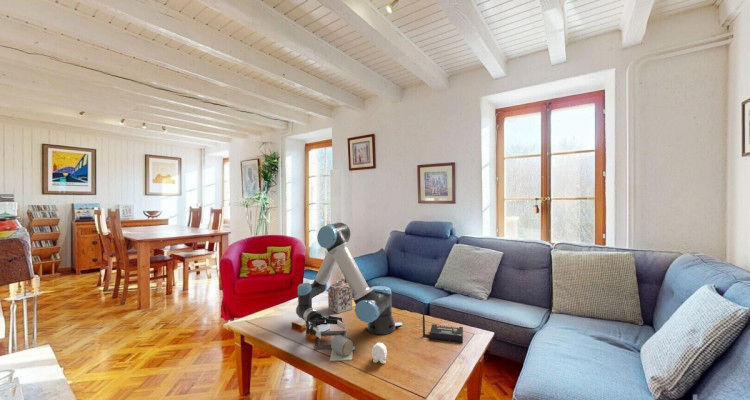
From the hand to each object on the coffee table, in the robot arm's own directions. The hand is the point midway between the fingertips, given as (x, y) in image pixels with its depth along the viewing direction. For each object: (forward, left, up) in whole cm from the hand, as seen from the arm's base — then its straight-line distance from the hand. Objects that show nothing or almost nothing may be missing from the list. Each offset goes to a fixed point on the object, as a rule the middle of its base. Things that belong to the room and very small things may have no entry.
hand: (332, 331), depth 152 cm
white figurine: (-23, +11, -9) cm, 27 cm away
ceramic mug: (-6, +5, -8) cm, 11 cm away
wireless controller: (-56, -8, -9) cm, 57 cm away
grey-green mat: (-5, +6, -9) cm, 12 cm away
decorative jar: (0, -51, -9) cm, 52 cm away
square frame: (+1, -8, -9) cm, 12 cm away
